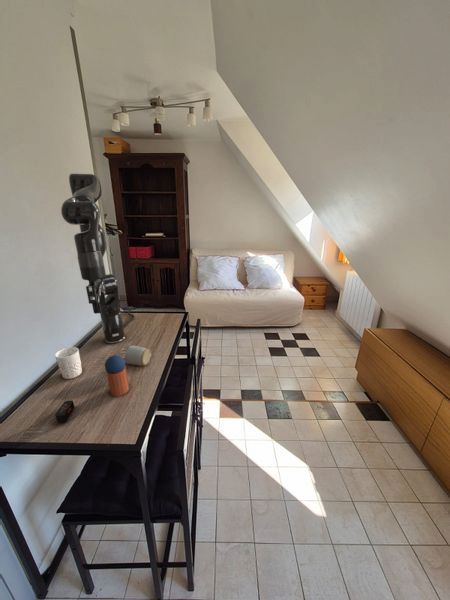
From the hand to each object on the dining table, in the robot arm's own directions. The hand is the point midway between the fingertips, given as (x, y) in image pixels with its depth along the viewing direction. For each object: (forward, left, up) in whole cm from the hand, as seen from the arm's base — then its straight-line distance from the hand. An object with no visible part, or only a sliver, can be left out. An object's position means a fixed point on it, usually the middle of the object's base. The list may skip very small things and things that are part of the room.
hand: (100, 308), depth 90 cm
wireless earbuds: (+19, -11, -28) cm, 36 cm away
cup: (+11, +4, -28) cm, 30 cm away
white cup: (-4, -16, -28) cm, 33 cm away
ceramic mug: (-6, +10, -28) cm, 31 cm away
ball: (+11, +4, -17) cm, 21 cm away
